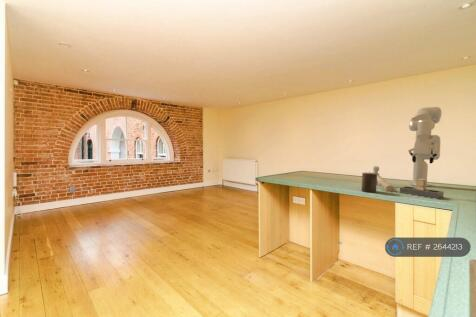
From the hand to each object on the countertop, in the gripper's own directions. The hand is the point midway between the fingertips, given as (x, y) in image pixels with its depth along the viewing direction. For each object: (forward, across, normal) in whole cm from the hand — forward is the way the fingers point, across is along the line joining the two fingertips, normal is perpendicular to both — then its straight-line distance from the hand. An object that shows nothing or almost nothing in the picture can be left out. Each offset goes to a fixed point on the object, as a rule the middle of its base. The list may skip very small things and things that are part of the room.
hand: (422, 162), depth 160 cm
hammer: (+23, +28, -3) cm, 36 cm away
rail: (+22, 0, +2) cm, 22 cm away
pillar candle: (+23, +26, +19) cm, 39 cm away
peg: (+21, 0, +2) cm, 21 cm away
